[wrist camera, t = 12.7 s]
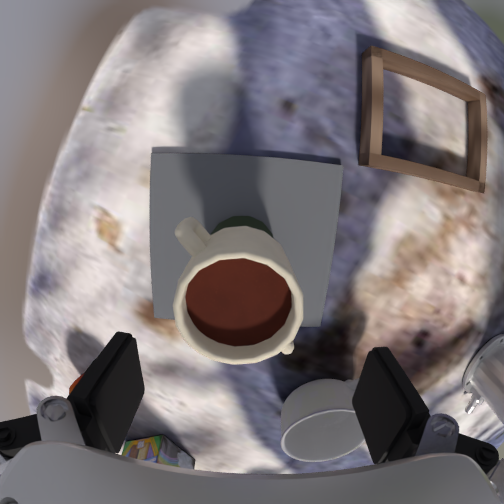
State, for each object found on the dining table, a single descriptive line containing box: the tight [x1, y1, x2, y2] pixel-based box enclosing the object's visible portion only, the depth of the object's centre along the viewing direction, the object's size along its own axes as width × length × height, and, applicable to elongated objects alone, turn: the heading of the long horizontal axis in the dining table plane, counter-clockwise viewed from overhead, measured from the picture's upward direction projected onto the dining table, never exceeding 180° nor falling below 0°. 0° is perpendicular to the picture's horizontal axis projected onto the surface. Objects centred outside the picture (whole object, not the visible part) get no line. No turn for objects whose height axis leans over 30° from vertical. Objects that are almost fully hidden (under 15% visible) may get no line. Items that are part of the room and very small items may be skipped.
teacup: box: [281, 378, 365, 462], centre depth 30 cm, size 14×11×8 cm
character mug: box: [173, 216, 303, 365], centre depth 21 cm, size 11×7×13 cm, turn 39°
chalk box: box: [122, 435, 195, 469], centre depth 31 cm, size 9×9×15 cm
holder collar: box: [359, 46, 487, 193], centre depth 23 cm, size 12×16×2 cm
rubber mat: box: [150, 153, 343, 327], centre depth 27 cm, size 17×18×1 cm
